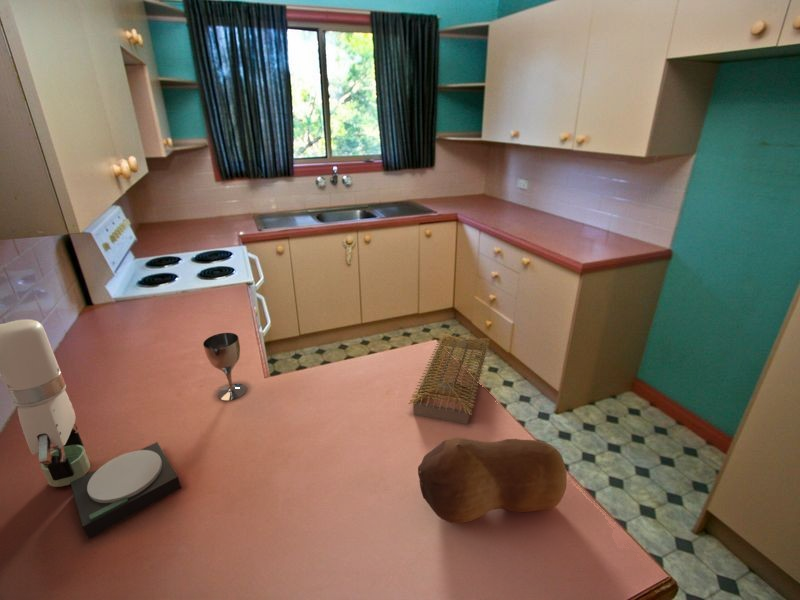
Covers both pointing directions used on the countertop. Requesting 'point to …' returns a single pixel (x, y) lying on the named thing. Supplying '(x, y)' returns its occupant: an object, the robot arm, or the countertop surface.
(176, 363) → the countertop surface
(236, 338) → the wine glass
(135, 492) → the scale
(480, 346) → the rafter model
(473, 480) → the butternut squash
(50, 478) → the bowl
